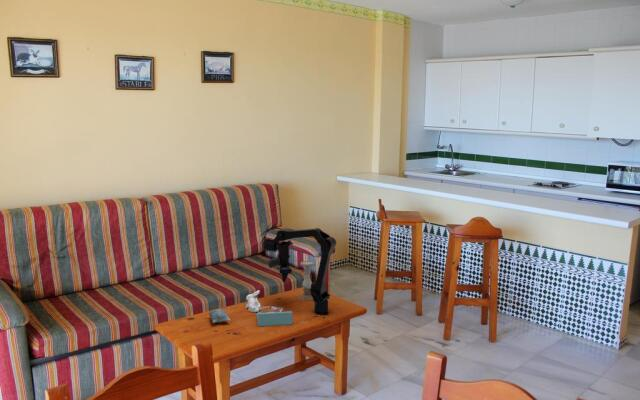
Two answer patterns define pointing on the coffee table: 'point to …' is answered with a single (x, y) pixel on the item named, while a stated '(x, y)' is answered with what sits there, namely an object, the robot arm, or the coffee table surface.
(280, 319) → the display stand
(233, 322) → the coffee table surface
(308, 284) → the candle holder
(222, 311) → the packaged food
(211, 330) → the coffee table surface
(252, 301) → the rabbit figurine
